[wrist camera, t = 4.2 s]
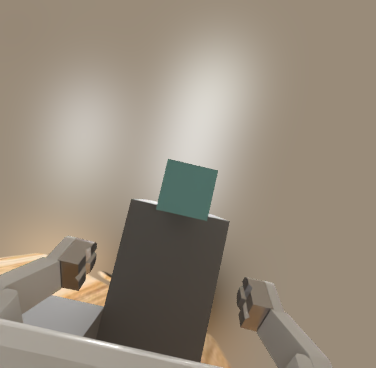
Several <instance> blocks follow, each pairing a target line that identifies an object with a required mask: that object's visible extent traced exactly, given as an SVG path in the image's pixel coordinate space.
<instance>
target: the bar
mask: <svg viewBox="0 0 376 368" xmlns="http://www.w3.org/2000/svg"><path fill="white" fill-rule="evenodd" d="M217 173H218V170H213V169H209V168H205V167H200V166H196V165H192V164H188V163H183V162H179V161H175V160H171V159H168V162H167V166H166V171H165V174H164V178H163V182H162V187H161V191H160V195H159V199H158V203H157V207H156V209H157V210H161V211H165V212H170V213H174V214H179V215H183V216H187V217H192V218H196V219H200V220H205V221H207V219H208V214H209V210H210V205H211V200H212V196H213V191H214V187H215V182H216V178H217Z"/></svg>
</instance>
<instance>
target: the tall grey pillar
mask: <svg viewBox="0 0 376 368" xmlns="http://www.w3.org/2000/svg"><path fill="white" fill-rule="evenodd" d="M157 203H158V202H155V201H151V200H144V199H143V200H142V199H131V203H130V207H129V211H128V215H127V218H126V223H125V227H124V230H123V234H122V238H121V242H120V246H119V250H118V254H117V259H116V262H115V266H114V270H113V274H112V278H111V282H110V286H109V290H108V293H107V297H106V301H105V305H104V307H103V306H98V305H94V304H89V303H85V302H80V301H75V300H71V299H66V298H62V297H57V296H52V295H51V296H49V297H48V298H46V299H45V300H43V301H42V302H40V303H39V304H37V305H36V306H34V307H33V308H31V309H30V310H28V311H27V312H25V313H24V314H22V318H23V323H24V324H28V325H32V326H37V327H41V328H46V329H50V330H55V331H59V332H64V333H68V334H73V335H77V336H82V337H86V338H91V339H96V340H100V341H105V342H109V343H114V344H118V345H123V346H127V347H132V348H136V349H141V350H145V351H150V352H154V353H159V354H164V355H168V356H173V357H177V358H182V359H186V360H191V361H195V362H200V361H201V356H202V351H203V347H204V342H205V337H206V332H207V327H208V323H209V318H210V313H211V308H212V303H213V298H214V294H215V289H216V284H217V279H218V274H219V270H220V265H221V260H222V255H223V250H224V246H225V241H226V235H227V231H228V226H229V221H227V220H225V219H222V218H219V217H217V216H215V215H212V214H208V219H207V221H205V220H200V219H196V218H192V217H187V216H183V215H179V214H174V213H170V212H165V211H161V210H157V209H156V207H157Z"/></svg>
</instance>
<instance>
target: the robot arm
mask: <svg viewBox="0 0 376 368" xmlns="http://www.w3.org/2000/svg"><path fill="white" fill-rule="evenodd" d="M96 248H97V244H96V243H95V242H92V241H88V240H84V239H79V238H75V237H71V236H67V237H65V238H64V239H63V240H62V241H61V242H60V243H59V244H58V245H57V246H56V247H55V248H54V250H53V251H52V252H51V253H50V254H49V255H48V256H47V257H46V258H45V257H42V258H40V259H37V260H35V261H32V262H30V263H28V264H25V265H23V266H20V267H18V268H16V269H13V270H11V271H9V272H6V273H4V274H1V275H0V368H222V367H218V366H213V365H209V364H204V363H200V362H195V361H191V360H186V359H182V358H177V357H173V356H168V355H164V354H159V353H154V352H150V351H145V350H141V349H136V348H132V347H127V346H123V345H118V344H114V343H109V342H105V341H100V340H96V339H91V338H86V337H82V336H77V335H73V334H68V333H64V332H59V331H55V330H50V329H46V328H41V327H37V326H32V325H28V324H24V323H23V318H22V314H24V313H25V312H27V311H28V310H30V309H31V308H33V307H34V306H36V305H37V304H39V303H40V302H42V301H43V300H45V299H46V298H48V297H49V296H51V295H52V294H54V293H55V292H57V291H58V290H60V289H61V288H66V289H72V290H77V291H79V289H80V288H81V286H82V284H83V283H84V281H85V280H86V274H88V273H90V272H91V270H92V268H93V266H94V264H95V261H96V253H95V252H94V251H95V250H96ZM237 306H238V307H239V309H240V310H241V311H240V313H239V320H240V327H241V328H245V329H249V330H253V331H257V334H258V336H259V337H260V339H261V341H262V342H263V344H264V346H265V347H266V349H267V351H268V352H269V354H270V356H271V357H272V359H273V360H274V362H275V364H276V365H277V367H278V368H333V367H332V365H331V363H330V361H329V359H328V358H327V357H326V356H325V355H324V353H323V352H322V351H321V350H320V349H319V348H318V347H317V346H316V345H315V344H314V342H313V341H312V340H311V339H310V338H309V337H308V336H307V335H306V334H305V333H304V331H303V330H302V329H301V328H300V327H299V326H298V325H297V323H296V322H295V321H294V320H293V319H292V318H291V317H290V316H289V315H288V313H286V312H284V310H283V307H282V304H281V301H280V299H279V296H278V293H277V290H276V287H275V285H274V284H273V283H271V282H266V281H262V280H257V279H253V278H248V277H245V278H244V280H243V286H241V287H240V288H239V290H238V293H237Z"/></svg>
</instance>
